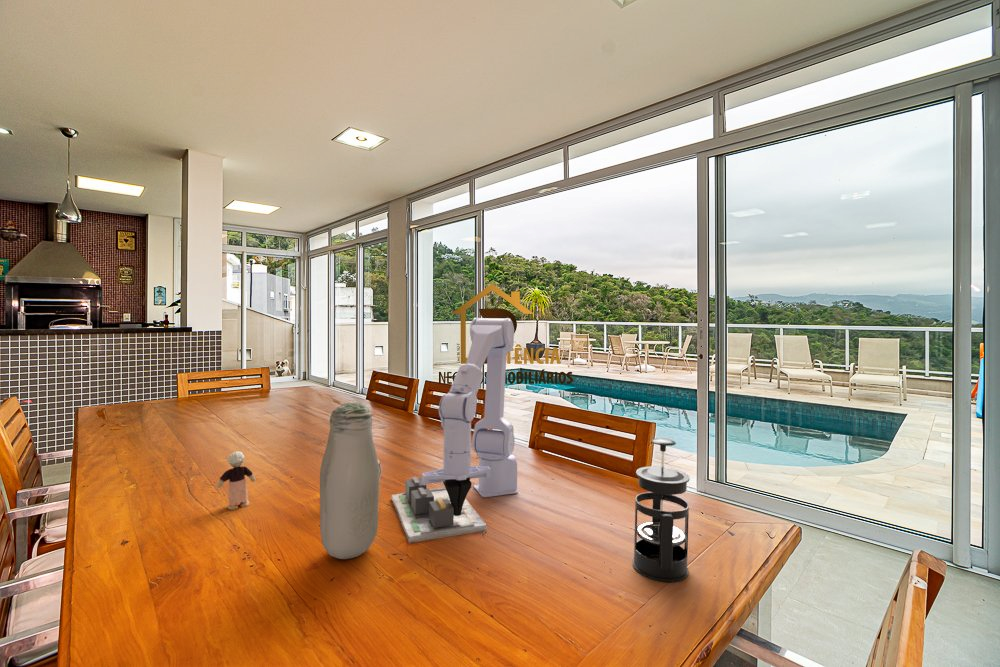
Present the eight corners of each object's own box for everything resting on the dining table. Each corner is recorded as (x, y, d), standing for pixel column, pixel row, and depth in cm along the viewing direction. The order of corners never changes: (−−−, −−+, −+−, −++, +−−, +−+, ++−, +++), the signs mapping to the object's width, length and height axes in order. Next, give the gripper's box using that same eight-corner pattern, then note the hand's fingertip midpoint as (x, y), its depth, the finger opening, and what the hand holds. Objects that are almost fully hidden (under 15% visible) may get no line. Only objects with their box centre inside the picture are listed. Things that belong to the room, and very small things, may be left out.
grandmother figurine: (249, 499, 112) (248, 446, 111) (257, 503, 109) (257, 449, 109) (214, 510, 105) (213, 454, 105) (222, 514, 103) (222, 457, 103)
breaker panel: (455, 491, 118) (455, 485, 118) (486, 530, 97) (486, 523, 97) (391, 499, 113) (391, 493, 113) (408, 542, 91) (408, 535, 91)
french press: (629, 550, 89) (632, 431, 89) (681, 555, 88) (684, 433, 87) (636, 584, 78) (639, 447, 77) (696, 591, 76) (700, 451, 75)
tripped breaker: (447, 515, 101) (447, 496, 100) (453, 525, 96) (453, 505, 96) (428, 518, 99) (429, 498, 99) (434, 527, 95) (434, 507, 94)
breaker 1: (421, 492, 114) (422, 475, 114) (426, 499, 109) (426, 482, 109) (405, 494, 112) (405, 477, 112) (409, 501, 108) (409, 484, 107)
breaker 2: (428, 503, 107) (428, 485, 107) (433, 512, 102) (433, 493, 102) (411, 506, 105) (411, 488, 105) (415, 514, 101) (415, 496, 100)
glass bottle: (346, 574, 80) (347, 411, 79) (309, 557, 85) (309, 404, 84) (389, 550, 88) (390, 402, 87) (352, 536, 94) (352, 397, 93)
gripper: (427, 458, 92) (426, 527, 92) (496, 452, 97) (495, 516, 98) (419, 449, 98) (419, 513, 99) (484, 443, 104) (484, 503, 104)
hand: (456, 514), depth 99 cm, fingers closed
